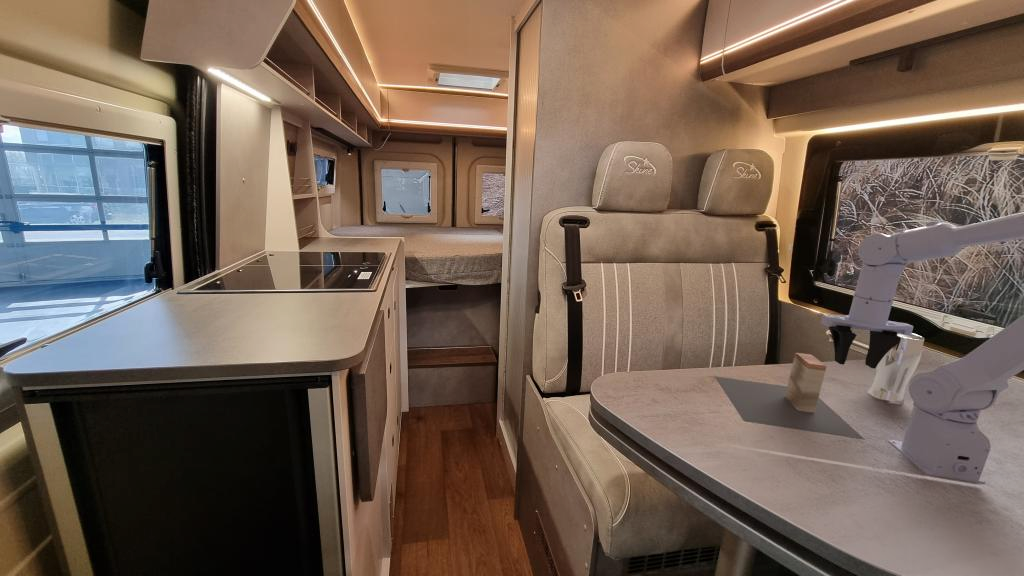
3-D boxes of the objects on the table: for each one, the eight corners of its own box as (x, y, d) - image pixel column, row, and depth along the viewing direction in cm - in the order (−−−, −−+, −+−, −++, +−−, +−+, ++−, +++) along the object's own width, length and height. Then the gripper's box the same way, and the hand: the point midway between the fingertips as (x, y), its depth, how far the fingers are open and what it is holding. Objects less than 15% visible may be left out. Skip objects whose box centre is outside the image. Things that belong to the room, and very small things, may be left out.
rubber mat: (864, 441, 75) (864, 439, 74) (743, 422, 78) (744, 420, 78) (809, 391, 94) (810, 389, 94) (714, 378, 97) (715, 376, 97)
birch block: (814, 412, 83) (826, 366, 81) (797, 410, 83) (809, 363, 81) (800, 398, 89) (811, 354, 86) (785, 396, 89) (795, 352, 87)
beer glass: (889, 392, 96) (907, 330, 93) (914, 407, 89) (935, 341, 86) (857, 389, 97) (874, 327, 93) (879, 404, 90) (899, 338, 86)
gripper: (902, 297, 82) (882, 361, 85) (820, 289, 84) (804, 352, 88) (929, 306, 75) (907, 376, 78) (839, 297, 78) (821, 365, 81)
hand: (854, 364), depth 83 cm, fingers open, 5 cm apart
